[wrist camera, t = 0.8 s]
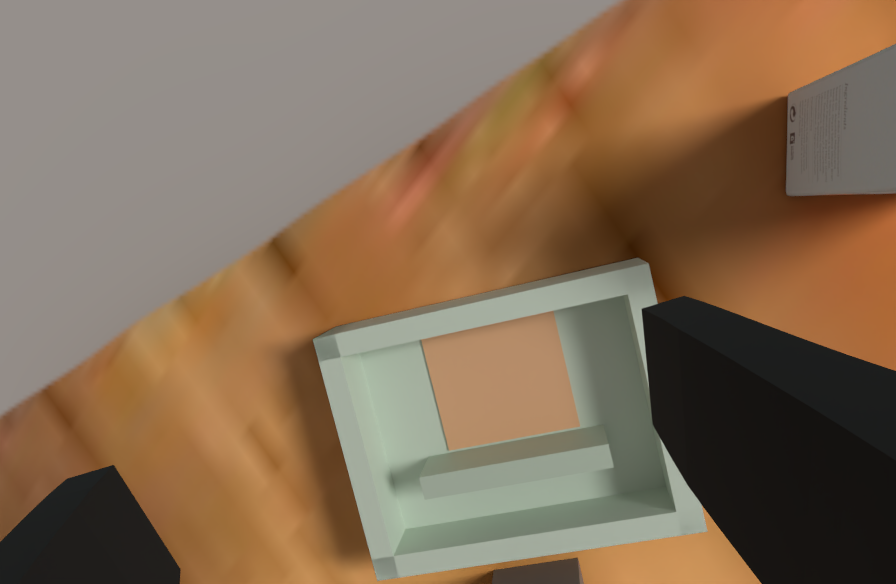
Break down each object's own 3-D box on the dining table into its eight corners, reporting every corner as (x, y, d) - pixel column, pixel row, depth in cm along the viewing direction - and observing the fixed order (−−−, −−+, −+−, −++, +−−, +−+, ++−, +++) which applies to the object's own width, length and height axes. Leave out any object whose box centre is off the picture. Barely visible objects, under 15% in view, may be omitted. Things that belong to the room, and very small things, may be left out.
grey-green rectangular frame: (690, 498, 28) (707, 531, 25) (393, 545, 31) (377, 580, 28) (638, 257, 27) (648, 263, 24) (335, 326, 30) (312, 339, 27)
